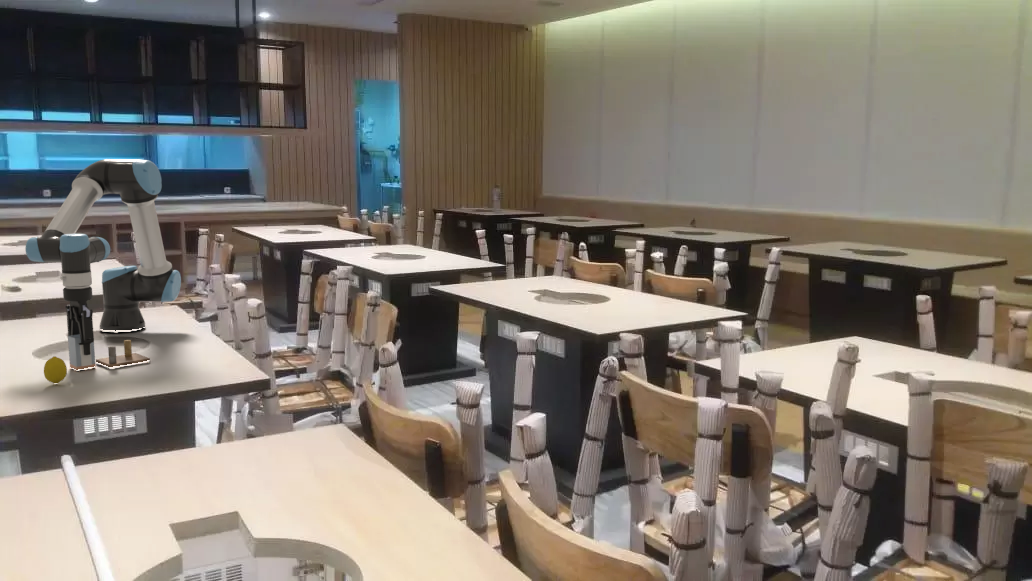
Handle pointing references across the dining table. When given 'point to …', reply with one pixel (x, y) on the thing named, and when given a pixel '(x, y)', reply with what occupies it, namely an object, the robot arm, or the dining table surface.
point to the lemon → (55, 370)
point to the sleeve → (78, 352)
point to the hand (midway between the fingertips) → (82, 363)
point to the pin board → (122, 356)
